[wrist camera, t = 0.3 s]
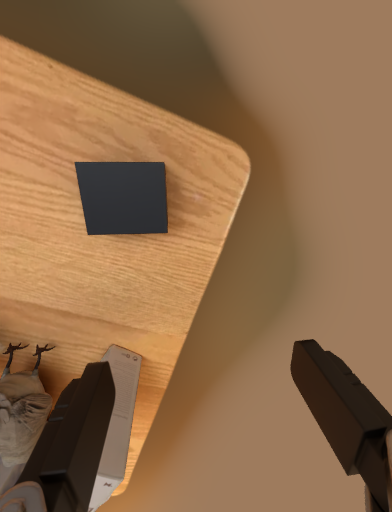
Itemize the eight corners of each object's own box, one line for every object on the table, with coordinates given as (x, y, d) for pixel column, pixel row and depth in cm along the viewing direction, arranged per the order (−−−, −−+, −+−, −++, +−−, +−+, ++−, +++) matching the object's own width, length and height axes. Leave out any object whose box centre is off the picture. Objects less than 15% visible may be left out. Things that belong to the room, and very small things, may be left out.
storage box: (165, 163, 20) (164, 162, 17) (168, 223, 22) (167, 233, 19) (90, 163, 20) (74, 161, 16) (100, 225, 22) (87, 235, 18)
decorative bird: (21, 427, 31) (-24, 502, 24) (7, 332, 25) (-55, 394, 18) (63, 427, 31) (32, 500, 24) (59, 336, 26) (17, 396, 19)
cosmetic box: (111, 342, 27) (67, 466, 16) (144, 355, 28) (126, 479, 17) (90, 376, 28) (35, 511, 17) (122, 387, 30) (91, 520, 18)
